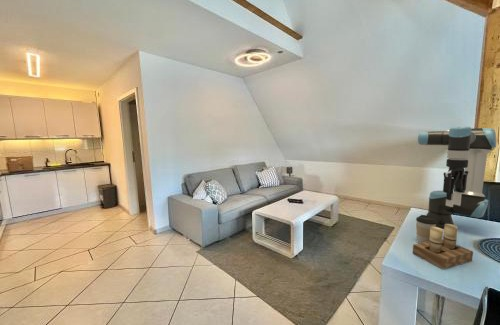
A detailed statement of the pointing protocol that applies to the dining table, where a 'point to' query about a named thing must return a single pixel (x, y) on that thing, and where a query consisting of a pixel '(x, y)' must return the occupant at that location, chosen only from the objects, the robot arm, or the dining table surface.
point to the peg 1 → (435, 239)
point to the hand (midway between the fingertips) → (452, 205)
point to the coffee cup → (424, 227)
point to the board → (443, 255)
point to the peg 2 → (450, 236)
